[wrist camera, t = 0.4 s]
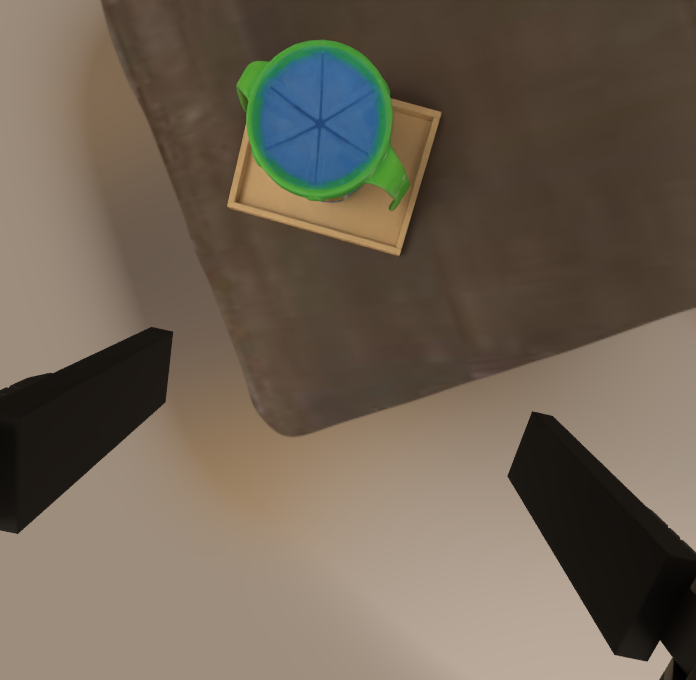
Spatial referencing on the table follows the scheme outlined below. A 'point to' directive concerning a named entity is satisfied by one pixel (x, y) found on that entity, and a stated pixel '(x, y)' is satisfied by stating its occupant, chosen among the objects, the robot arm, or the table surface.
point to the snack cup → (322, 122)
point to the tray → (357, 211)
